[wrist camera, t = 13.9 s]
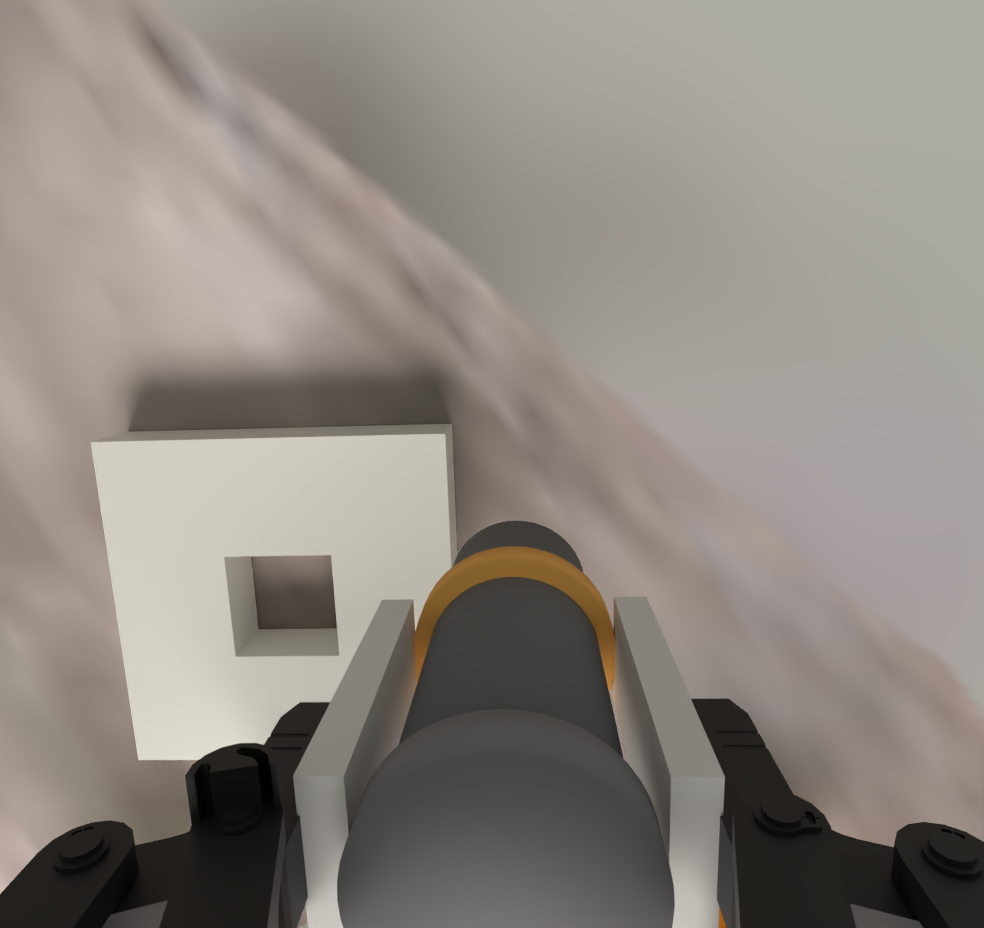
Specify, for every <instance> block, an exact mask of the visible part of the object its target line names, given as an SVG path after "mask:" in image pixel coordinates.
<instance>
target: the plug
mask: <svg viewBox="0 0 984 928" xmlns="http://www.w3.org/2000/svg"><path fill="white" fill-rule="evenodd" d="M414 659H415V675H416V678H417V686H416V689H415V692H414V696H413V699H412V702H411V705H410V709H409V712H408V715H407V719H406V722H405V725H404V728H403V732H402V735H401V738H400V741H399V745H398V746H397V747H396V748H395V749H393V750H392V751H391V753H390V754H389V755H388V756H387V757H386V758H385V759H384V760H383V761H382V762H381V764H380V765H379V766H378V768H377V769H376V771H375V772H374V774H373V775H372V777H371V778H370V780H369V782H368V784H367V786H366V788H365V790H364V793H363V795H362V797H361V800H360V803H359V806H358V809H357V812H356V815H355V817H354V820H353V823H352V826H351V829H350V832H349V835H348V838H347V840H346V843H345V846H344V850H343V853H342V856H341V860H340V863H339V871H338V878H337V901H338V907H339V913H340V919H341V922H342V925H343V928H672V925H673V917H674V908H675V900H674V885H673V880H672V875H671V870H670V866H669V862H668V858H667V854H666V850H665V846H664V842H663V839H662V835H661V831H660V827H659V823H658V819H657V815H656V812H655V810H654V807H653V804H652V801H651V799H650V796H649V795H648V793H647V791H646V789H645V787H644V785H643V784H642V782H641V780H640V779H639V777H638V776H637V775H636V773H635V772H634V771H633V769H632V768H631V767H630V765H629V764H628V763H627V762H626V761H625V760H624V759H623V755H622V750H621V746H620V741H619V737H618V732H617V727H616V723H615V718H614V713H613V709H612V704H611V699H610V695H609V692H610V689H611V687H612V684H613V681H614V677H615V636H614V631H613V628H612V624H611V620H610V617H609V613H608V611H607V608H606V605H605V602H604V601H603V599H602V597H601V595H600V593H599V591H598V590H597V589H596V587H595V586H594V584H593V583H592V582H591V581H590V580H589V579H588V577H587V576H586V575H585V574H584V573H583V570H582V566H581V564H580V561H579V559H578V557H577V555H576V553H575V552H574V550H573V549H572V547H571V546H570V545H569V544H568V543H567V542H566V541H565V540H564V539H563V538H562V537H561V536H560V535H558V534H557V533H555V532H554V531H552V530H550V529H548V528H546V527H544V526H542V525H539V524H535V523H531V522H526V521H507V522H502V523H497V524H495V525H492V526H489V527H487V528H485V529H483V530H481V531H480V532H478V533H477V534H475V535H474V536H473V537H472V538H470V539H469V540H468V541H467V542H466V544H465V545H464V546H463V547H462V549H461V550H460V552H459V553H458V555H457V557H456V559H455V561H454V564H453V567H452V568H451V569H450V570H448V571H447V572H446V573H445V574H444V575H443V576H442V577H441V578H440V580H439V581H438V582H437V583H436V584H435V586H434V587H433V589H432V591H431V592H430V594H429V596H428V598H427V600H426V602H425V604H424V607H423V610H422V613H421V615H420V618H419V621H418V624H417V627H416V631H415V635H414Z"/></svg>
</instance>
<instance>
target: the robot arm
mask: <svg viewBox="0 0 984 928" xmlns="http://www.w3.org/2000/svg"><path fill="white" fill-rule="evenodd" d="M414 635H415V619H414V602H413V599H403V600H382V601H381V603H380V605H379V607H378V609H377V611H376V613H375V615H374V617H373V619H372V621H371V623H370V625H369V627H368V629H367V630H366V632H365V634H364V636H363V638H362V640H361V642H360V644H359V646H358V648H357V650H356V652H355V654H354V656H353V658H352V660H351V662H350V664H349V666H348V668H347V670H346V672H345V674H344V676H343V678H342V680H341V682H340V684H339V686H338V688H337V690H336V692H335V694H334V696H333V698H332V700H331V702H300V703H298V704H297V705H296V706H294V707H293V708H292V709H291V710H289V711H288V712H287V713H285V714H284V715H283V716H281V718H280V719H279V721H278V722H277V724H276V726H275V727H274V729H273V731H272V732H271V736H270V737H268V739H267V740H266V742H265V744H264V745H262V744H258V743H238V744H234V745H230V746H226V747H222V748H219V749H217V750H215V751H213V752H211V753H209V754H206V755H205V756H203V757H202V758H201V759H199V760H198V761H197V762H196V763H194V764H193V765H192V766H191V768H190V769H189V771H188V772H187V774H186V775H185V778H186V785H187V793H188V800H189V807H190V815H191V822H192V826H191V829H190V831H189V832H187V833H184V834H181V835H178V836H174V837H171V838H167V839H162V840H158V841H153V842H149V843H144V844H140V845H135V843H134V836H133V830H132V829H131V828H130V827H128V826H127V825H126V824H125V823H121V822H115V821H102V822H94V823H89V824H86V825H84V826H80V827H77V828H75V829H72V830H70V831H68V832H66V833H65V834H63V835H61V836H59V837H57V838H56V839H54V840H52V841H51V842H50V843H49V844H48V845H47V846H45V847H44V848H43V849H42V850H41V851H40V852H38V853H37V854H36V856H35V857H34V858H33V859H32V860H31V861H30V862H29V863H28V864H27V865H26V867H25V868H24V869H23V870H22V871H21V872H20V873H19V874H18V875H17V876H16V878H15V879H14V880H13V881H12V882H11V883H10V884H9V885H8V886H7V887H6V889H5V890H4V891H3V892H2V893H1V894H0V928H296V927H297V925H298V922H299V919H300V917H301V914H302V911H303V909H304V906H305V903H306V910H307V920H308V928H343V925H342V922H341V919H340V913H339V907H338V901H337V878H338V871H339V863H340V860H341V856H342V853H343V850H344V846H345V843H346V840H347V838H348V835H349V832H350V829H351V826H352V823H353V820H354V817H355V815H356V812H357V809H358V806H359V803H360V800H361V797H362V795H363V793H364V790H365V788H366V786H367V784H368V782H369V780H370V778H371V777H372V775H373V774H374V772H375V771H376V769H377V768H378V766H379V765H380V764H381V762H382V761H383V760H384V759H385V758H386V757H387V756H388V755H389V754H390V753H391V751H392V750H393V749H395V748H396V747H397V746H398V745H399V741H400V738H401V735H402V732H403V728H404V725H405V722H406V719H407V715H408V712H409V709H410V705H411V702H412V699H413V696H414V692H415V689H416V686H417V678H416V675H415V659H414ZM614 636H615V677H614V681H613V703H614V707H615V712H616V716H617V720H618V725H619V729H620V733H621V738H622V742H623V746H624V751H625V755H626V759H627V763H628V764H629V765H630V767H631V768H632V769H633V771H634V772H635V773H636V775H637V776H638V777H639V779H640V780H641V782H642V784H643V785H644V787H645V789H646V791H647V793H648V795H649V796H650V799H651V801H652V804H653V807H654V810H655V812H656V815H657V819H658V823H659V827H660V831H661V835H662V839H663V842H664V846H665V850H666V854H667V858H668V862H669V866H670V870H671V875H672V880H673V885H674V900H675V908H674V917H673V925H672V928H718V927H719V907H720V910H721V913H722V916H723V919H724V922H725V925H726V928H984V842H983V841H981V840H979V839H977V838H976V837H974V836H972V835H970V834H968V833H967V832H964V831H961V830H958V829H956V828H952V827H949V826H946V825H942V824H934V823H927V822H921V823H914V824H908V825H906V826H905V827H903V828H902V829H900V830H899V831H897V835H896V839H895V845H894V847H889V846H885V845H881V844H876V843H872V842H867V841H863V840H859V839H855V838H852V837H849V836H845V835H842V834H840V833H838V832H835V831H833V830H831V827H830V825H829V823H828V821H827V819H826V817H825V816H824V814H823V813H821V812H820V811H819V810H818V809H817V808H816V807H815V806H813V805H812V804H811V803H809V802H807V801H805V800H803V799H801V798H799V797H797V796H795V795H793V793H792V791H791V789H790V788H789V786H788V784H787V782H786V780H785V779H784V777H783V775H782V773H781V772H780V770H779V768H778V766H777V765H776V763H775V761H774V759H773V757H772V756H771V754H770V752H769V750H768V749H766V745H765V743H764V741H763V740H762V738H761V736H760V734H758V731H757V729H756V727H755V726H754V724H753V722H752V720H751V718H750V717H749V715H748V713H746V712H745V711H744V710H742V709H741V708H740V707H739V706H737V705H736V704H735V703H733V702H732V701H731V700H729V699H691V698H690V696H689V694H688V691H687V689H686V687H685V684H684V682H683V680H682V677H681V675H680V673H679V671H678V668H677V666H676V664H675V661H674V659H673V657H672V655H671V652H670V650H669V648H668V645H667V643H666V641H665V639H664V636H663V634H662V632H661V629H660V627H659V625H658V622H657V620H656V618H655V616H654V613H653V611H652V609H651V606H650V604H649V602H648V600H647V597H614Z"/></svg>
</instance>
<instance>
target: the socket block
mask: <svg viewBox="0 0 984 928" xmlns="http://www.w3.org/2000/svg"><path fill="white" fill-rule="evenodd" d="M91 447H92V454H93V461H94V467H95V474H96V481H97V487H98V494H99V501H100V507H101V514H102V521H103V527H104V534H105V541H106V547H107V554H108V561H109V567H110V574H111V581H112V587H113V594H114V601H115V607H116V614H117V621H118V627H119V634H120V641H121V647H122V654H123V661H124V667H125V674H126V681H127V687H128V694H129V701H130V707H131V714H132V721H133V727H134V734H135V741H136V747H137V754H138V760H199V759H201V758H202V757H203V756H205V755H206V754H209V753H211V752H213V751H215V750H217V749H219V748H222V747H226V746H230V745H234V744H238V743H258V744H262V745H264V744H265V742H266V740H267V739H268V737H270V736H271V732H272V731H273V729H274V727H275V726H276V724H277V722H278V721H279V719H280V718H281V716H283V715H284V714H285V713H287V712H288V711H289V710H291V709H292V708H293V707H294V706H296V705H297V704H298V703H300V702H331V700H332V698H333V696H334V694H335V692H336V690H337V688H338V686H339V684H340V682H341V680H342V678H343V676H344V674H345V672H346V670H347V668H348V666H349V664H350V662H351V660H352V658H353V656H354V654H355V652H356V650H357V648H358V646H359V644H360V642H361V640H362V638H363V636H364V634H365V632H366V630H367V629H368V627H369V625H370V623H371V621H372V619H373V617H374V615H375V613H376V611H377V609H378V607H379V605H380V603H381V601H382V600H403V599H413V602H414V619H415V631H416V627H417V624H418V621H419V618H420V615H421V613H422V610H423V607H424V604H425V602H426V600H427V598H428V596H429V594H430V592H431V591H432V589H433V587H434V586H435V584H436V583H437V582H438V581H439V580H440V578H441V577H442V576H443V575H444V574H445V573H446V572H447V571H448V570H450V569H451V568H452V567H453V564H454V561H455V559H456V557H457V555H458V553H457V530H456V507H455V483H454V460H453V437H452V424H417V425H377V426H336V427H295V428H255V429H214V430H173V431H133V432H125V433H121V434H118V435H114V436H111V437H107V438H104V439H100V440H97V441H93V442H91ZM305 555H331V560H332V572H333V585H334V597H335V609H336V621H337V628H327V629H259V626H258V617H257V607H256V598H255V588H254V579H253V569H252V560H251V556H305Z"/></svg>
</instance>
